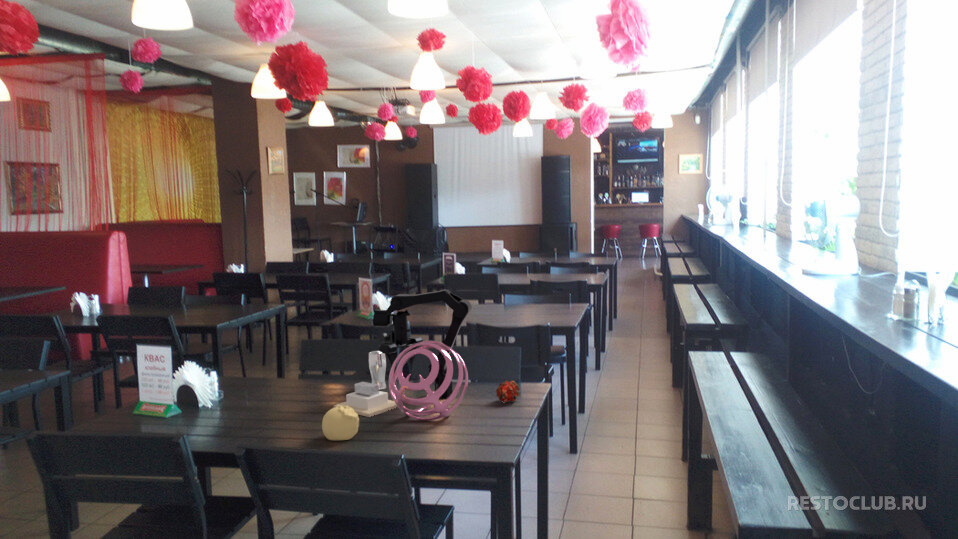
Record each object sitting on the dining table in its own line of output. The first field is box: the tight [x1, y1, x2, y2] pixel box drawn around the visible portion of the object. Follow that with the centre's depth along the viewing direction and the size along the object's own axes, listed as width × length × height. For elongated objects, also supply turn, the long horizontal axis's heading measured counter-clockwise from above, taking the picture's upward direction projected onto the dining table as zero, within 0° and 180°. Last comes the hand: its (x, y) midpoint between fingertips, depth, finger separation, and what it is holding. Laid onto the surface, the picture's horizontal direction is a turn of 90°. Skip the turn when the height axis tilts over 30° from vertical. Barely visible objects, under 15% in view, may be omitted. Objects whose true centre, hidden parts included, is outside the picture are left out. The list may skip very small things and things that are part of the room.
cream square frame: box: [333, 390, 399, 418], centre depth 261 cm, size 20×16×5 cm
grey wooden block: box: [354, 381, 380, 397], centre depth 260 cm, size 9×4×8 cm, turn 51°
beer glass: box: [368, 350, 387, 391], centre depth 287 cm, size 7×7×15 cm
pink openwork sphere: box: [388, 340, 469, 422], centre depth 246 cm, size 28×28×27 cm
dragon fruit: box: [496, 379, 522, 403], centre depth 260 cm, size 8×8×12 cm
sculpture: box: [321, 405, 360, 441], centre depth 227 cm, size 11×12×11 cm
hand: (402, 366), depth 273 cm, fingers open, 9 cm apart
